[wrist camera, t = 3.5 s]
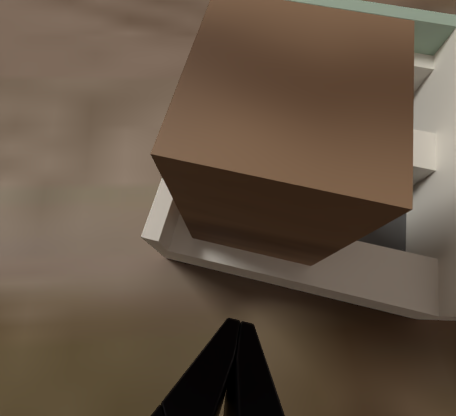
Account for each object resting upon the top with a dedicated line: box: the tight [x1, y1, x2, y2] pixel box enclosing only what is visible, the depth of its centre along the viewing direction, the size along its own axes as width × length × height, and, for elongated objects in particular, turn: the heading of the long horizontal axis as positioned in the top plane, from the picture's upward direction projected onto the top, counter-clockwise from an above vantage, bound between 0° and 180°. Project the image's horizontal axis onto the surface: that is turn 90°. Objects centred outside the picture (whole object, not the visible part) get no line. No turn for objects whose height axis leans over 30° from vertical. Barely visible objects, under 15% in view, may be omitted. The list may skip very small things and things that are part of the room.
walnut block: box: [151, 0, 414, 266], centre depth 11 cm, size 6×6×8 cm
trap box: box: [141, 0, 456, 321], centre depth 17 cm, size 17×15×5 cm
